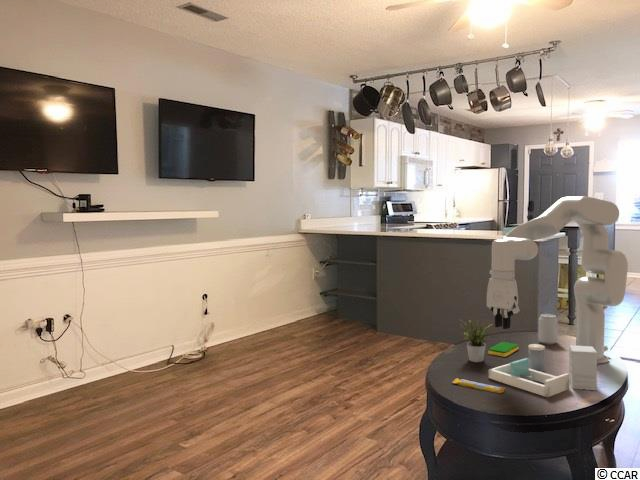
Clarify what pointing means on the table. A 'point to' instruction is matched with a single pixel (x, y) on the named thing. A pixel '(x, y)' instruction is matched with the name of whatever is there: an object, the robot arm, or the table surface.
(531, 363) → the jar
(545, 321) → the can
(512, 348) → the dish sponge
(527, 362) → the pusher
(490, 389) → the candy bar
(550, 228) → the robot arm
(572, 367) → the supplement box
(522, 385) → the frame
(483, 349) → the house plant
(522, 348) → the table surface
